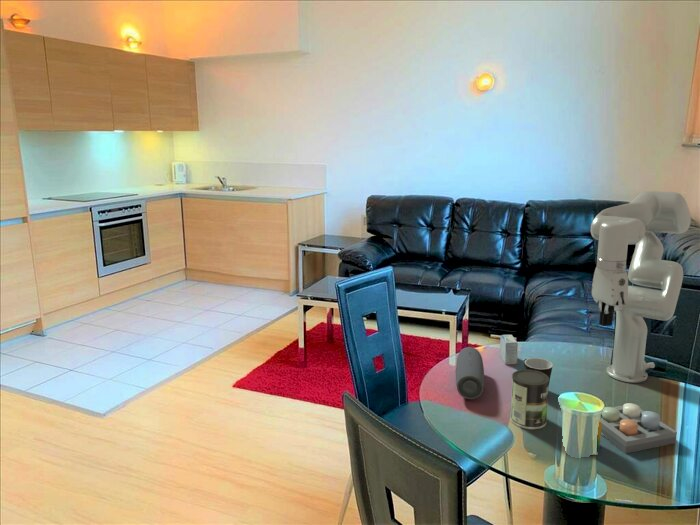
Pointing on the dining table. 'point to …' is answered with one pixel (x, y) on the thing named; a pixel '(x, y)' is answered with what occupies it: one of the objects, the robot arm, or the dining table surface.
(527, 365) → the coffee mug
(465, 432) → the dining table surface
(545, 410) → the coffee can
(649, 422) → the button slate
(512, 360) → the medicine box
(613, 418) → the button sage
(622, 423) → the button terracotta
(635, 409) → the button cream
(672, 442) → the grey square tray
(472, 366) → the bluetooth speaker
